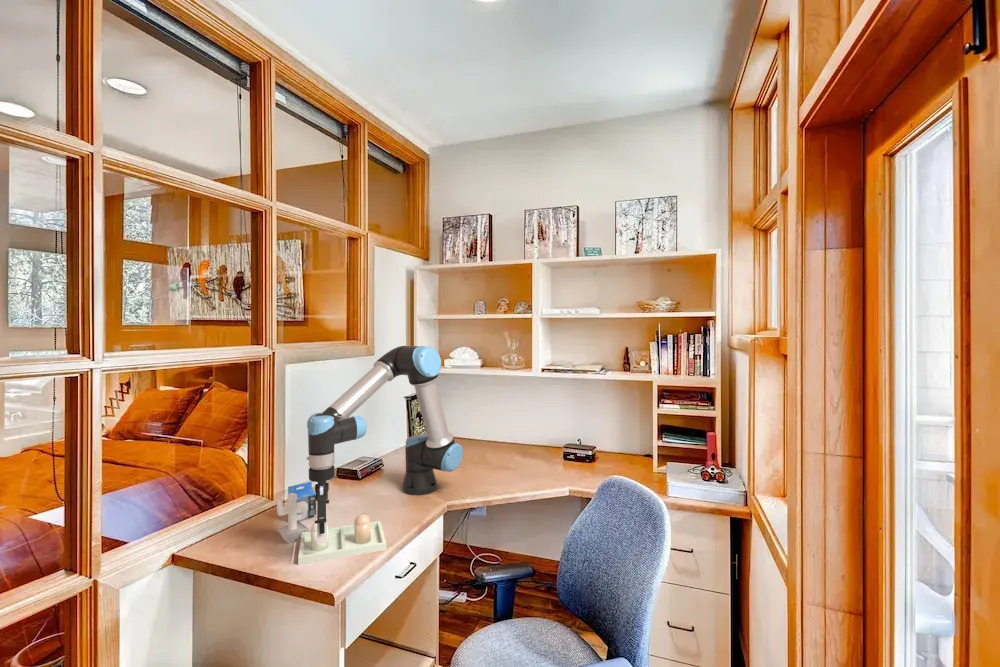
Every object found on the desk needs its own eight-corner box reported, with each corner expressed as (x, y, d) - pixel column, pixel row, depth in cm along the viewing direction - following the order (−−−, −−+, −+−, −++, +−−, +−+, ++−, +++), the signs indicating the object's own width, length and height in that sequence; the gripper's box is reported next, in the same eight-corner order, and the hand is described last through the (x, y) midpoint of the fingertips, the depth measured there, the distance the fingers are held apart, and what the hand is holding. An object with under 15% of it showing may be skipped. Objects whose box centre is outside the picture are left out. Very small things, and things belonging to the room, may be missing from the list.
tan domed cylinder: (370, 536, 151) (369, 510, 151) (371, 542, 147) (370, 516, 147) (354, 538, 150) (353, 512, 150) (354, 545, 145) (354, 518, 145)
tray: (380, 529, 159) (380, 520, 159) (386, 552, 142) (386, 543, 142) (302, 541, 150) (301, 532, 150) (298, 568, 133) (298, 557, 133)
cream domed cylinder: (328, 542, 147) (328, 516, 147) (328, 549, 142) (327, 522, 142) (311, 545, 145) (311, 518, 145) (310, 552, 140) (310, 525, 140)
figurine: (311, 538, 153) (310, 493, 153) (281, 547, 146) (281, 500, 146) (302, 531, 158) (302, 487, 158) (273, 540, 151) (273, 495, 151)
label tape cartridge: (291, 523, 164) (291, 489, 164) (287, 520, 167) (287, 486, 167) (316, 516, 170) (316, 483, 170) (312, 513, 173) (311, 481, 173)
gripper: (310, 457, 154) (311, 520, 154) (306, 479, 131) (307, 553, 131) (334, 454, 157) (335, 516, 157) (334, 476, 133) (335, 549, 134)
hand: (322, 533), depth 144 cm, fingers open, 13 cm apart
